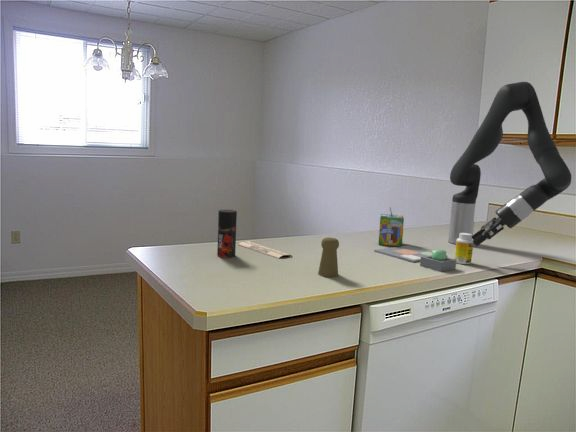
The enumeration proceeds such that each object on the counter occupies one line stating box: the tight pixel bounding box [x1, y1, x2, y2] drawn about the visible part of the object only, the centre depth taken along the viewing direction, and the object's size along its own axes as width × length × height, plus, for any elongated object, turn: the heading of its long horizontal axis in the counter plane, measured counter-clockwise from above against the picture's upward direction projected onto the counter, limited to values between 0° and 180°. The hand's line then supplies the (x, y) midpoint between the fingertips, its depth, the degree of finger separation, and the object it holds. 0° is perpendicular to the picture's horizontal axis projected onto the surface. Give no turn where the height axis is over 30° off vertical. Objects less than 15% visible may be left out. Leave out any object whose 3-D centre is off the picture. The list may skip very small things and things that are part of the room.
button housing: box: [419, 255, 457, 273], centre depth 155 cm, size 8×8×3 cm
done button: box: [431, 249, 447, 261], centre depth 155 cm, size 4×4×4 cm
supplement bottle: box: [453, 233, 474, 265], centre depth 163 cm, size 6×6×10 cm
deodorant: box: [216, 209, 238, 259], centre depth 156 cm, size 6×6×15 cm
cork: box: [317, 237, 340, 278], centre depth 139 cm, size 6×6×11 cm
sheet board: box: [373, 245, 448, 263], centre depth 173 cm, size 19×18×1 cm
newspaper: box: [238, 240, 293, 260], centre depth 166 cm, size 24×7×2 cm, turn 40°
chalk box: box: [378, 207, 405, 247], centre depth 189 cm, size 9×9×15 cm
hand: (473, 241), depth 161 cm, fingers open, 8 cm apart
